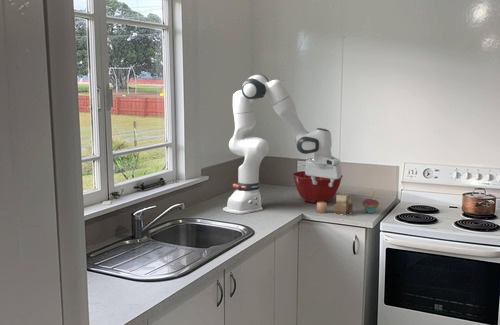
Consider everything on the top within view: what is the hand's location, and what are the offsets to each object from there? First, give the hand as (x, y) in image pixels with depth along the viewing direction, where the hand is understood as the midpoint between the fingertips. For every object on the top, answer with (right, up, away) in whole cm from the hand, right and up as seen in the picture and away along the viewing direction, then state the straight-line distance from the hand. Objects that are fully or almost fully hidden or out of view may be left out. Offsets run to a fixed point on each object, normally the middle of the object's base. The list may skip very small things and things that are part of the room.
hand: (322, 185), depth 270 cm
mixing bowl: (+1, -10, +29) cm, 30 cm away
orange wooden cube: (0, -14, +2) cm, 14 cm away
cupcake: (+25, -14, +2) cm, 29 cm away
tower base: (+11, -15, 0) cm, 18 cm away
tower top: (+11, -10, -1) cm, 14 cm away
